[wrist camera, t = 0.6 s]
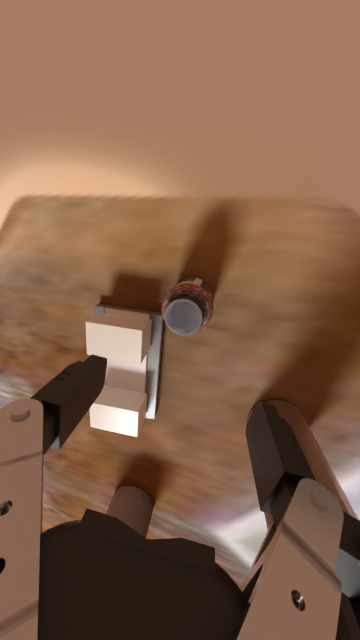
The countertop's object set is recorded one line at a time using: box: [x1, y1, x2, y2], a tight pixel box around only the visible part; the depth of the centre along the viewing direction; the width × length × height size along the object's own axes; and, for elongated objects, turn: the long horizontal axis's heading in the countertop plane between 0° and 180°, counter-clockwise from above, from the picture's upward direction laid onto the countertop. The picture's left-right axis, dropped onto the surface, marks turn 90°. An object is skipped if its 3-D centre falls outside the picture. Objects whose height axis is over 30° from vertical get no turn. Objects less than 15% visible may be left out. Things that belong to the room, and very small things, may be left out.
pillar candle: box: [106, 486, 154, 538], centre depth 42 cm, size 10×10×15 cm
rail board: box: [86, 304, 164, 437], centre depth 34 cm, size 20×11×6 cm, turn 174°
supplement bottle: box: [162, 277, 213, 336], centre depth 27 cm, size 6×6×11 cm
